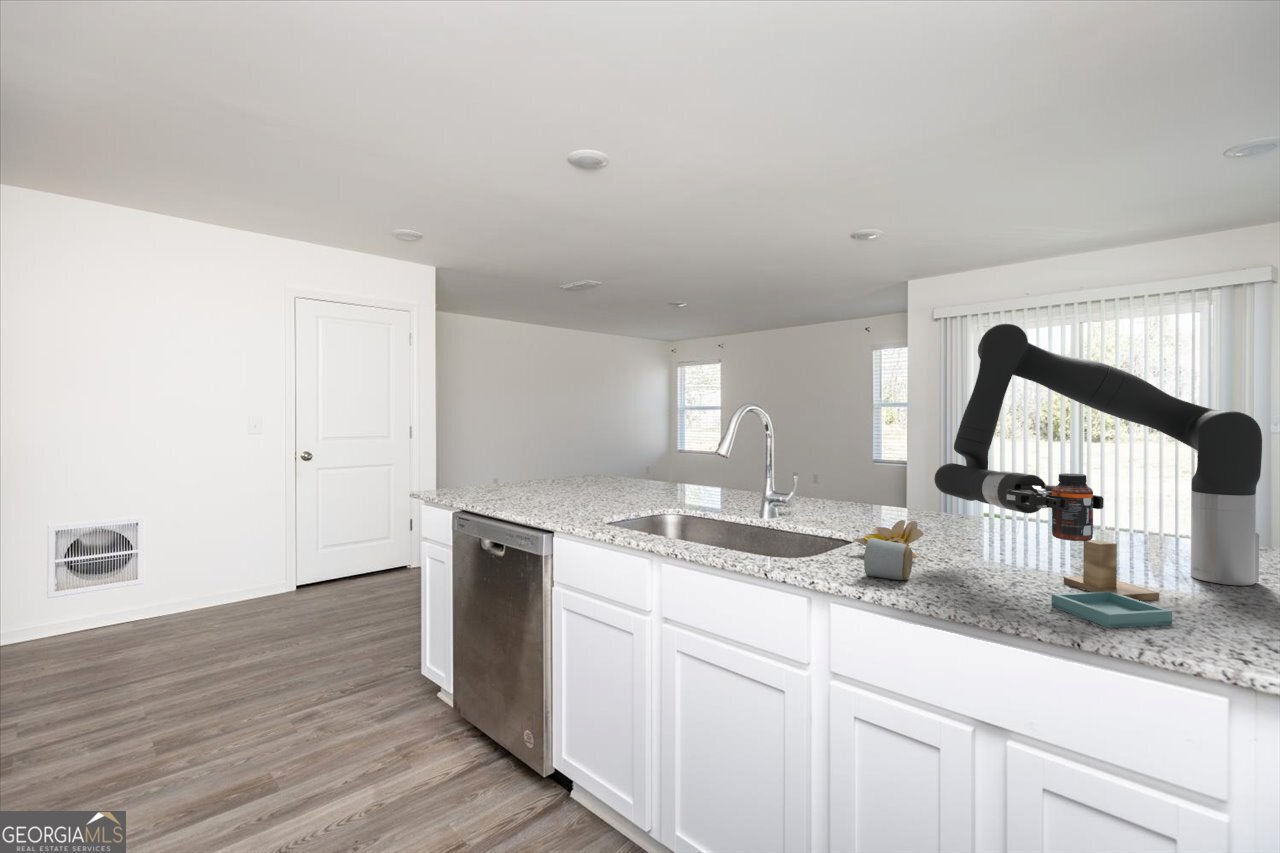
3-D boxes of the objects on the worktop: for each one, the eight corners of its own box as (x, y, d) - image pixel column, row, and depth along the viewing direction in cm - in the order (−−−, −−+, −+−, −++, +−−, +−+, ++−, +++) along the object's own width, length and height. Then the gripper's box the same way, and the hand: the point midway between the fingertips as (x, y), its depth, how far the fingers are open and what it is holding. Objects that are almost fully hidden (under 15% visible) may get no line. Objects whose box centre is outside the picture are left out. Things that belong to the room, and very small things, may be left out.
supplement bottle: (1100, 542, 105) (1100, 476, 105) (1060, 541, 107) (1061, 475, 106) (1083, 535, 111) (1083, 472, 111) (1045, 534, 112) (1046, 472, 112)
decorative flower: (843, 542, 151) (854, 503, 151) (885, 552, 153) (895, 513, 152) (874, 561, 136) (886, 518, 136) (920, 571, 138) (932, 528, 138)
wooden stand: (1100, 581, 122) (1100, 534, 122) (1159, 599, 110) (1159, 547, 110) (1063, 583, 121) (1063, 536, 120) (1119, 601, 109) (1119, 549, 109)
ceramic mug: (906, 584, 120) (906, 545, 120) (863, 579, 125) (863, 540, 125) (916, 574, 129) (916, 537, 129) (875, 568, 134) (875, 533, 134)
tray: (1109, 603, 108) (1109, 591, 108) (1172, 624, 97) (1172, 611, 97) (1051, 606, 106) (1051, 594, 106) (1109, 628, 95) (1109, 614, 95)
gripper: (980, 473, 122) (1046, 482, 105) (1046, 471, 124) (1122, 480, 107) (979, 511, 122) (1046, 526, 105) (1046, 508, 124) (1122, 524, 107)
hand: (1084, 503), depth 106 cm, fingers closed on supplement bottle, 6 cm apart
